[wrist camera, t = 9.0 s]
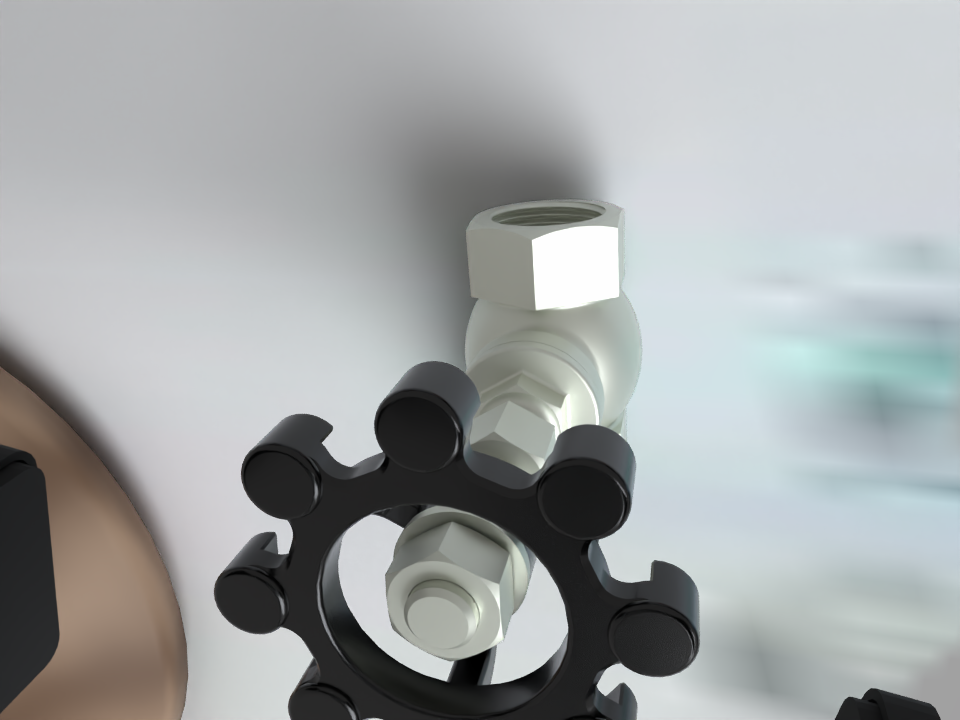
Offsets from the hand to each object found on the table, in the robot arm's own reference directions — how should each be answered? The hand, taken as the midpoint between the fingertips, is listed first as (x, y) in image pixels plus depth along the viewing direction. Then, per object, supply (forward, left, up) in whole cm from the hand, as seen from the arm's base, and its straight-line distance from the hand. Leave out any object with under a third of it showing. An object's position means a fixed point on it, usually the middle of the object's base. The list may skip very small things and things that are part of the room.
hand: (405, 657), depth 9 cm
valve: (-1, 0, -14) cm, 14 cm away
